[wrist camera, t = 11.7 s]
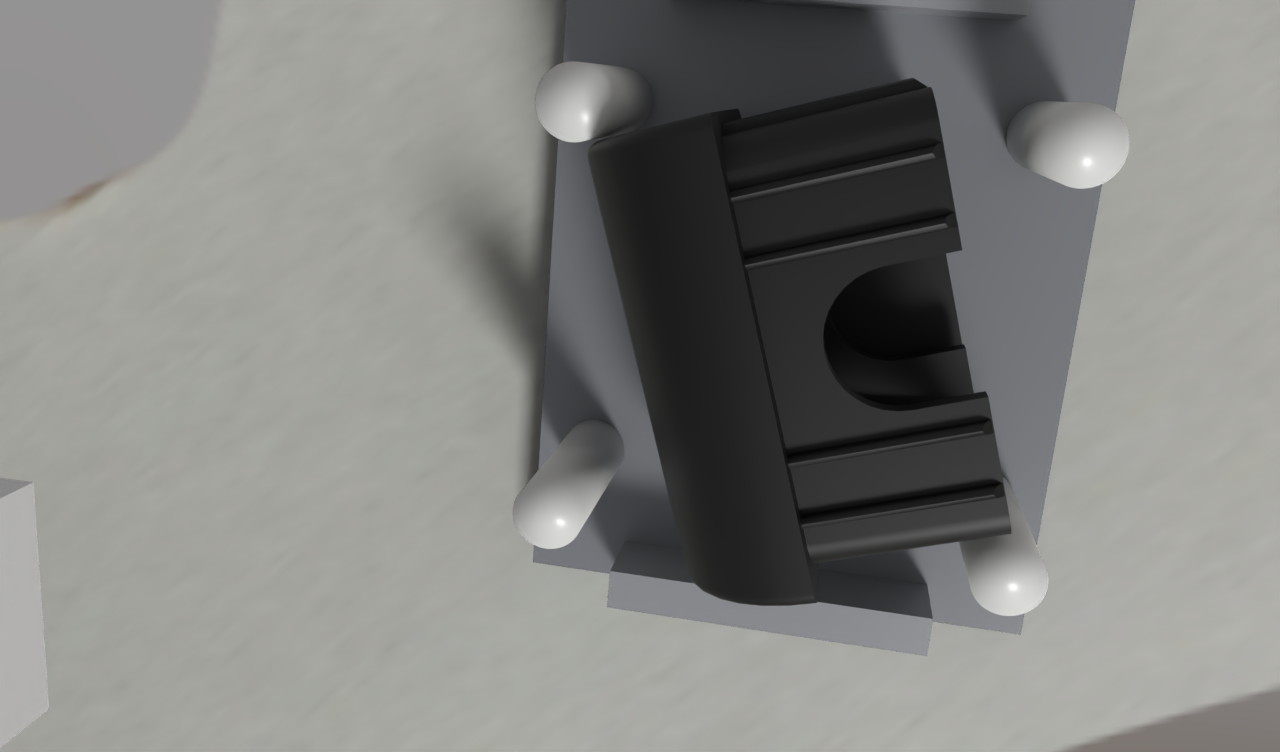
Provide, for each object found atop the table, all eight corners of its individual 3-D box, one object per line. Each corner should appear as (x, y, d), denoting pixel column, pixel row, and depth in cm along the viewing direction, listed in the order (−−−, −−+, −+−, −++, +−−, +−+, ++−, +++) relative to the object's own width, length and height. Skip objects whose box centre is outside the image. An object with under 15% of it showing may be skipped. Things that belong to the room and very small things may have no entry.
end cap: (620, 137, 28) (552, 150, 22) (910, 66, 27) (931, 58, 20) (708, 513, 30) (669, 629, 24) (983, 469, 29) (1023, 579, 22)
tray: (542, 548, 32) (476, 646, 27) (579, -51, 28) (510, -86, 22) (1015, 617, 30) (1054, 739, 25) (1127, -14, 26) (1206, -44, 21)
